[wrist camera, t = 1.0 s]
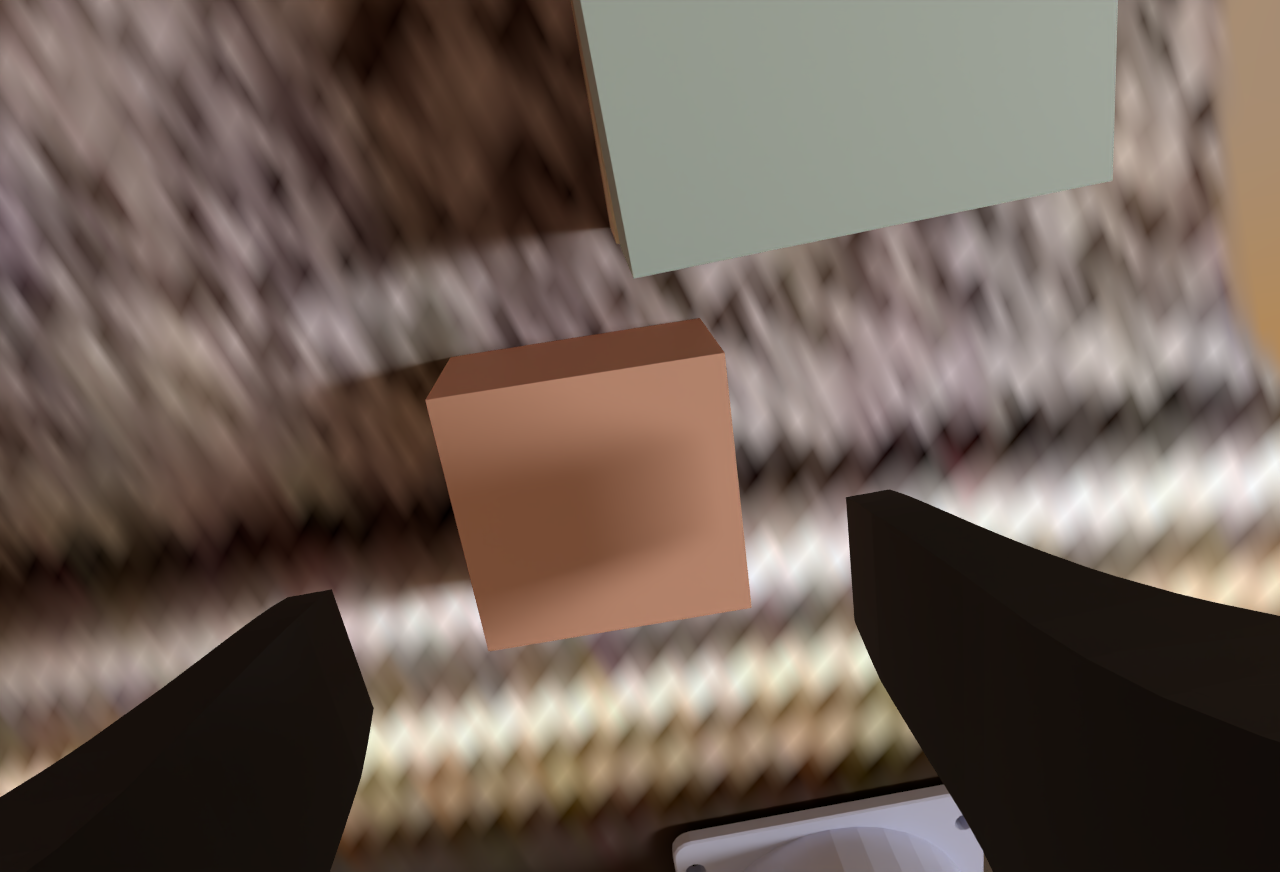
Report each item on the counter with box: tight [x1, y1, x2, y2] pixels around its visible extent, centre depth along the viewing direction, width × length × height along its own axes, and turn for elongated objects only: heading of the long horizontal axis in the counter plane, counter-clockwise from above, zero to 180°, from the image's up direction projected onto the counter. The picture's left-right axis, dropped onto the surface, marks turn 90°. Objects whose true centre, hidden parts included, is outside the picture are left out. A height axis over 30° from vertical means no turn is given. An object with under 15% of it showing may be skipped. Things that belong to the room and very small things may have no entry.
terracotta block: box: [425, 318, 751, 651], centre depth 15 cm, size 5×5×3 cm
